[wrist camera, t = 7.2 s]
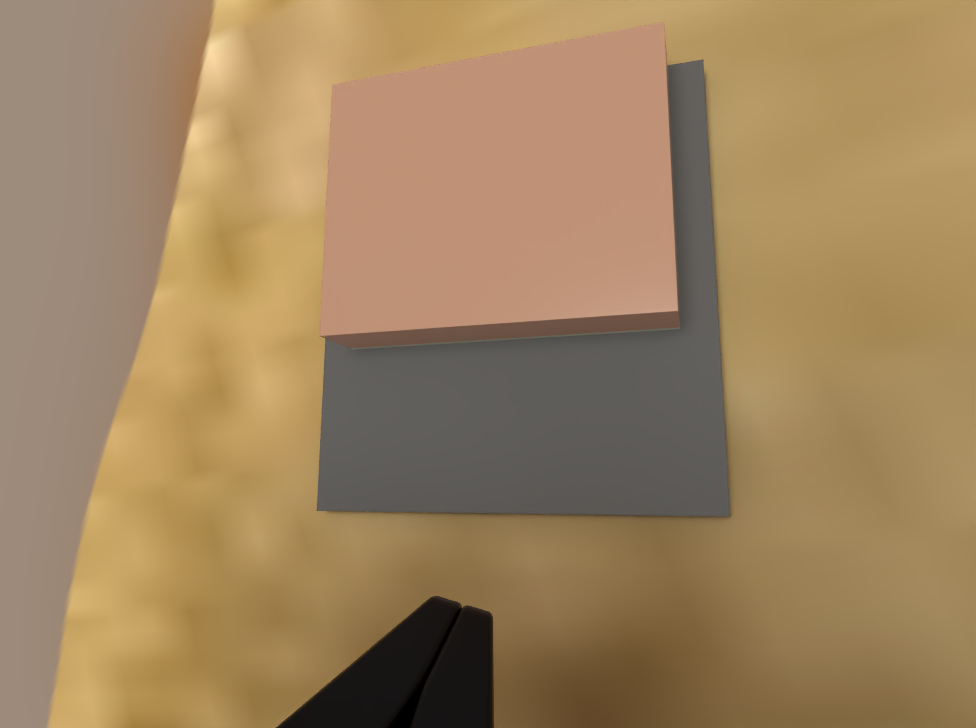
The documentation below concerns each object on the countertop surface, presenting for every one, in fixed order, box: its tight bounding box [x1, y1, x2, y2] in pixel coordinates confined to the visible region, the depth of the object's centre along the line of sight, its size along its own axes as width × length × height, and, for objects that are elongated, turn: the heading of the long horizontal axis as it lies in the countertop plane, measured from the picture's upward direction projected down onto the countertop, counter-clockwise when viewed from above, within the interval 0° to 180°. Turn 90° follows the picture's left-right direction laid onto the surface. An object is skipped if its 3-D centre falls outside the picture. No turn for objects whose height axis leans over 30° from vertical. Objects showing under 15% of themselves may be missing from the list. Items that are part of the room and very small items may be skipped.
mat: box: [317, 60, 730, 517], centre depth 21 cm, size 13×12×1 cm
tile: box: [320, 22, 680, 350], centre depth 20 cm, size 2×10×8 cm
